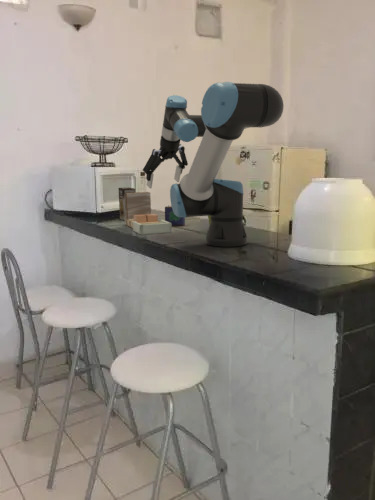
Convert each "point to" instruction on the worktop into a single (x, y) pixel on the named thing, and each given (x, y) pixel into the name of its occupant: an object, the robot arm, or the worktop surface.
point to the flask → (173, 217)
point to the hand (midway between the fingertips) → (163, 183)
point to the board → (130, 223)
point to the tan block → (137, 204)
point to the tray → (152, 228)
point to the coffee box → (123, 201)
